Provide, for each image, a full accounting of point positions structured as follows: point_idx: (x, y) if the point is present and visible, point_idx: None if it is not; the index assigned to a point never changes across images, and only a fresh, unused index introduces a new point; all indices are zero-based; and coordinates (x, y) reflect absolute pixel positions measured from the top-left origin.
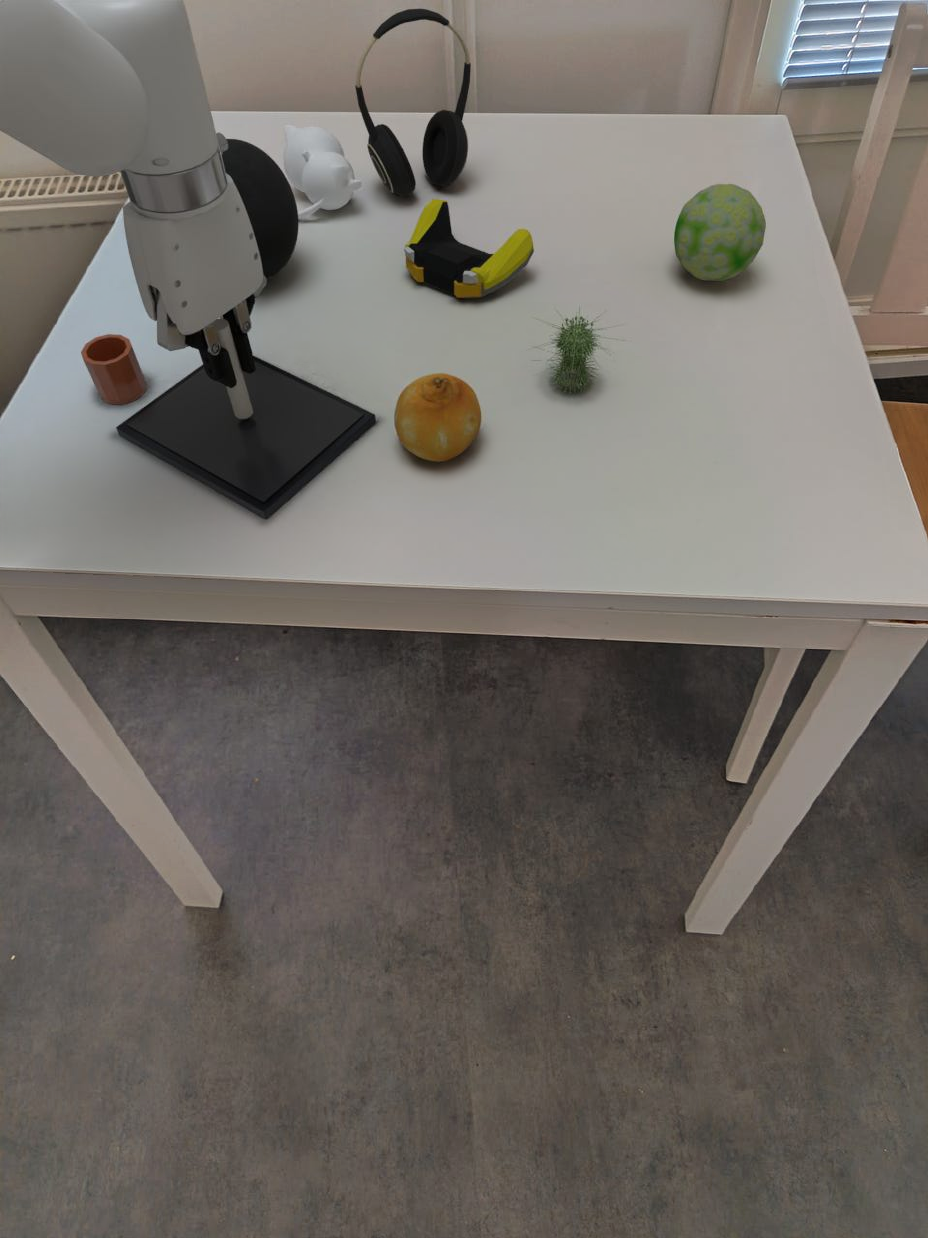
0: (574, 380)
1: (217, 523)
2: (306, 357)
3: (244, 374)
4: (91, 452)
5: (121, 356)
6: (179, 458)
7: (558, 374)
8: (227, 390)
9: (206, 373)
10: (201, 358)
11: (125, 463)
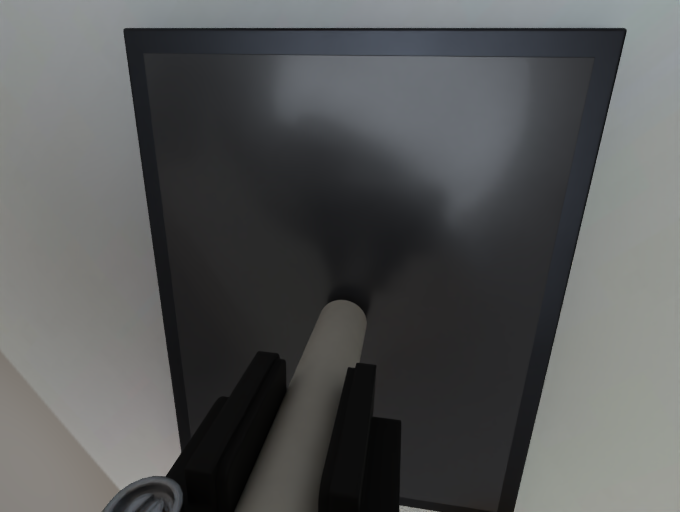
0: None
1: (134, 396)
2: (675, 261)
3: (493, 197)
4: (60, 23)
5: None
6: (165, 261)
7: None
8: (302, 355)
9: (217, 400)
10: (183, 450)
11: (99, 133)
